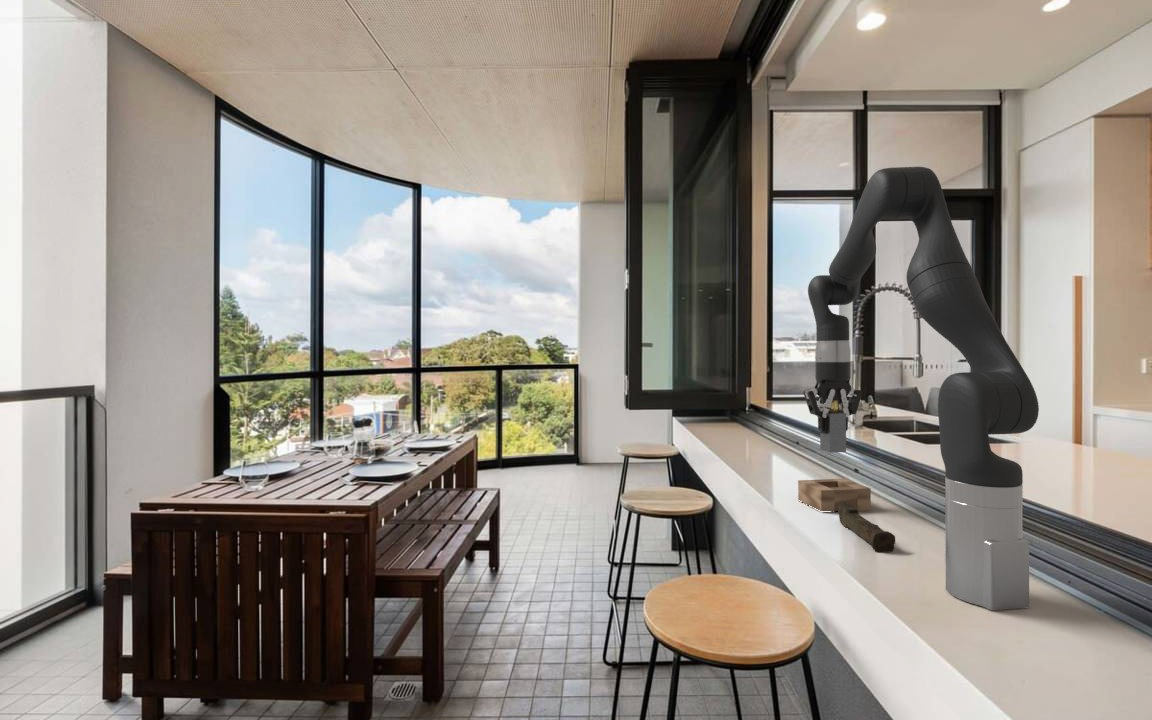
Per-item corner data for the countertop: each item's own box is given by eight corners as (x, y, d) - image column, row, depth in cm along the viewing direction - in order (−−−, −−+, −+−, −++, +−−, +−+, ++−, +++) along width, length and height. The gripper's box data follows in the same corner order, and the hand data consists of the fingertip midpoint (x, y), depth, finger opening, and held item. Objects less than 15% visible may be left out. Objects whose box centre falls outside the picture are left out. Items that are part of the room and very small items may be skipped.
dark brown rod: (896, 554, 100) (896, 528, 100) (873, 553, 100) (873, 528, 100) (853, 522, 119) (853, 500, 119) (834, 522, 119) (834, 500, 119)
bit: (846, 452, 129) (845, 400, 128) (829, 452, 128) (829, 400, 128) (836, 449, 133) (835, 399, 132) (820, 449, 132) (820, 399, 132)
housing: (870, 510, 126) (870, 488, 126) (821, 512, 125) (821, 490, 125) (844, 498, 136) (844, 478, 136) (798, 500, 135) (798, 480, 135)
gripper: (812, 360, 125) (813, 436, 126) (871, 360, 127) (871, 434, 127) (795, 360, 133) (796, 431, 133) (851, 359, 135) (851, 430, 135)
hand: (833, 432), depth 130 cm, fingers closed on bit, 4 cm apart
